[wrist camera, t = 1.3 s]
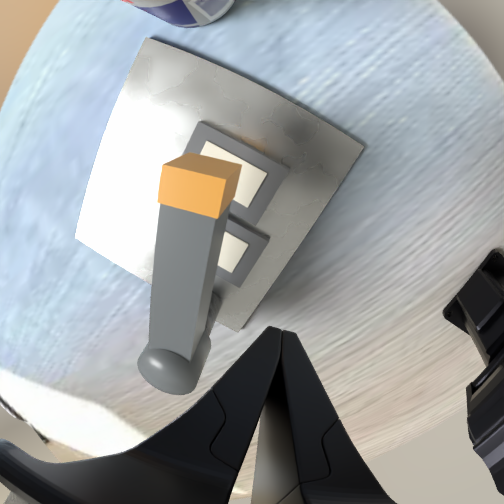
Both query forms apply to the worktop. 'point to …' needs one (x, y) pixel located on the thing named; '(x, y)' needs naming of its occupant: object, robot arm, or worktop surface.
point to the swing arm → (186, 267)
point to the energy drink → (184, 10)
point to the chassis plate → (173, 145)
